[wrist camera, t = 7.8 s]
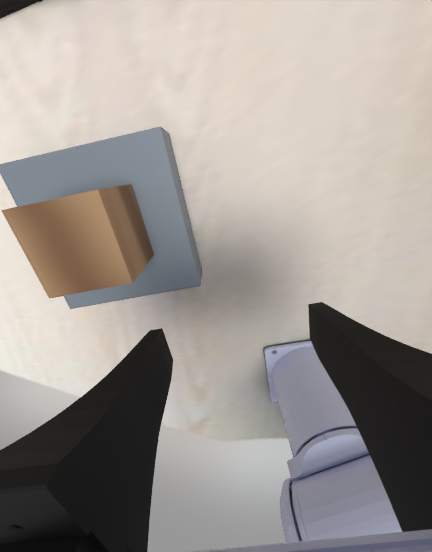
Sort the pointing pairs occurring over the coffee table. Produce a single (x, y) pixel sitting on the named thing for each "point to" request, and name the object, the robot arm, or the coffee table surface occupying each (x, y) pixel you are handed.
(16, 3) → the handheld gaming console
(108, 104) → the coffee table surface
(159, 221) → the slate block
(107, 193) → the walnut cube
